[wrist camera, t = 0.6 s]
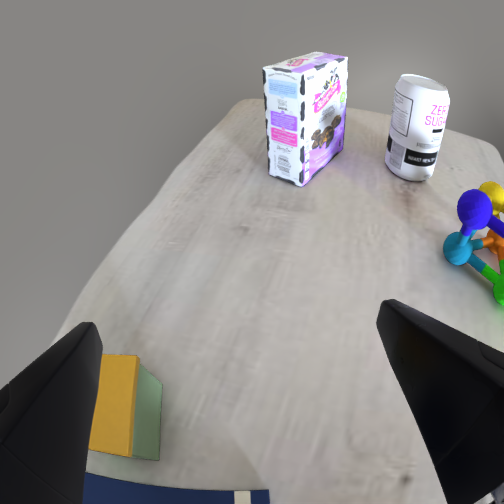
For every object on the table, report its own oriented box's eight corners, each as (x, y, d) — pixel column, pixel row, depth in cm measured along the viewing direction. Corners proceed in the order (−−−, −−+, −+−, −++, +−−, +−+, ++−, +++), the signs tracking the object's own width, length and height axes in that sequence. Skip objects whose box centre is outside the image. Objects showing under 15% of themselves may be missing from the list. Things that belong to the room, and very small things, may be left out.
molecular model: (492, 232, 33) (575, 214, 18) (472, 310, 31) (566, 313, 16) (426, 167, 32) (516, 119, 17) (398, 251, 30) (510, 228, 15)
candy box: (302, 189, 41) (302, 72, 29) (267, 175, 44) (259, 66, 31) (344, 149, 48) (350, 55, 35) (314, 139, 50) (314, 49, 38)
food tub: (161, 463, 20) (128, 456, 15) (102, 454, 20) (60, 442, 15) (164, 382, 25) (136, 354, 20) (109, 379, 25) (74, 352, 20)
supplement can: (393, 150, 47) (405, 70, 36) (436, 168, 43) (455, 87, 32) (376, 169, 43) (389, 77, 32) (424, 190, 39) (447, 97, 28)
